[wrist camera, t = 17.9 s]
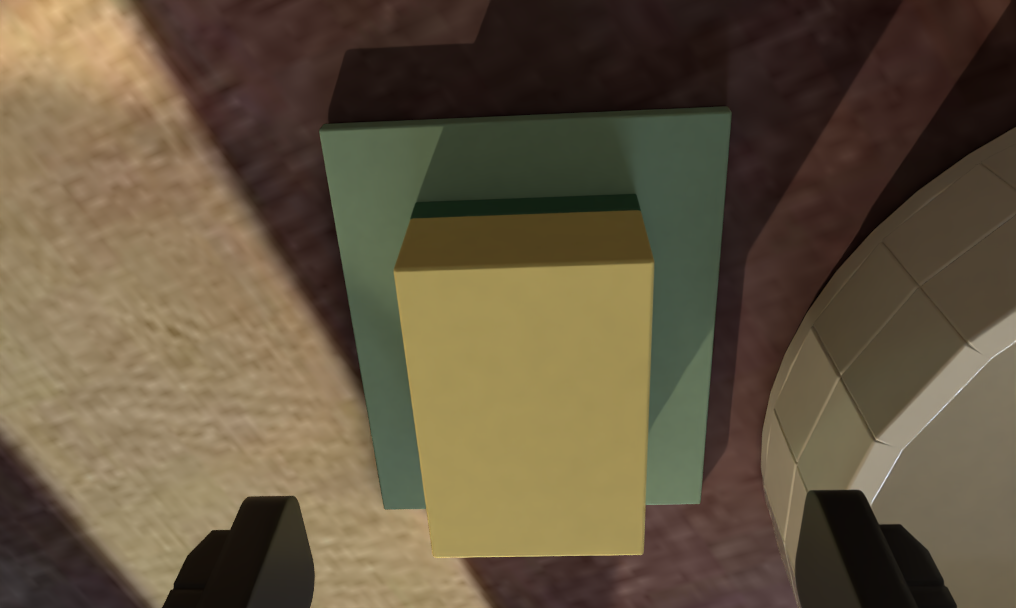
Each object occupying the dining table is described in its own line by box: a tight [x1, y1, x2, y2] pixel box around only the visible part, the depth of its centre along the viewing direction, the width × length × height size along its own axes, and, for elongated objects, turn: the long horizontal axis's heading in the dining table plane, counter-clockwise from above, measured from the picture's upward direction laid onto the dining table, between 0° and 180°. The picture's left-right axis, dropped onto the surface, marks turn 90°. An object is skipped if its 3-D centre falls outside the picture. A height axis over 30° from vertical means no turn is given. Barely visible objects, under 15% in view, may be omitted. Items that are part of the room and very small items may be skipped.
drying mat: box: [319, 106, 732, 509], centre depth 19 cm, size 10×8×1 cm
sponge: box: [394, 194, 654, 558], centre depth 17 cm, size 7×4×3 cm, turn 3°
